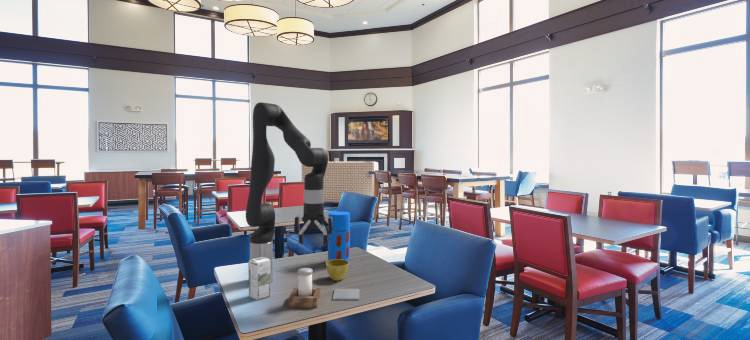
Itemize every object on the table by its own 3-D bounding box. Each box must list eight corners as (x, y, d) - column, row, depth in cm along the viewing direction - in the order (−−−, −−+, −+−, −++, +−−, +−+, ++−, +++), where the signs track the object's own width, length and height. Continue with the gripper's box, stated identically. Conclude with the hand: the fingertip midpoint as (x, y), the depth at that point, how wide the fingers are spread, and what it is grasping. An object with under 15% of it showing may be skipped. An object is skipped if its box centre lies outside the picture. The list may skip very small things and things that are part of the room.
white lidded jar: (296, 305, 137) (296, 272, 136) (298, 299, 142) (299, 267, 142) (311, 305, 137) (311, 272, 136) (313, 299, 142) (313, 267, 142)
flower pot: (340, 284, 159) (340, 267, 159) (321, 279, 164) (321, 263, 163) (353, 277, 168) (353, 261, 167) (334, 273, 173) (334, 258, 172)
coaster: (332, 300, 142) (332, 298, 142) (334, 290, 152) (334, 288, 152) (359, 300, 142) (359, 298, 142) (359, 290, 152) (359, 288, 152)
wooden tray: (288, 307, 134) (288, 297, 134) (293, 296, 144) (294, 287, 144) (316, 307, 135) (316, 298, 135) (320, 296, 145) (320, 287, 144)
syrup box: (261, 292, 148) (261, 256, 147) (270, 296, 144) (270, 259, 144) (248, 296, 144) (248, 259, 143) (257, 300, 140) (257, 262, 139)
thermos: (353, 261, 191) (354, 212, 190) (341, 267, 182) (341, 215, 181) (336, 258, 197) (337, 210, 196) (323, 263, 188) (323, 213, 187)
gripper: (292, 202, 137) (292, 246, 138) (331, 203, 136) (330, 247, 137) (297, 199, 145) (297, 241, 145) (334, 200, 144) (333, 242, 145)
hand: (313, 244), depth 141 cm, fingers open, 8 cm apart
